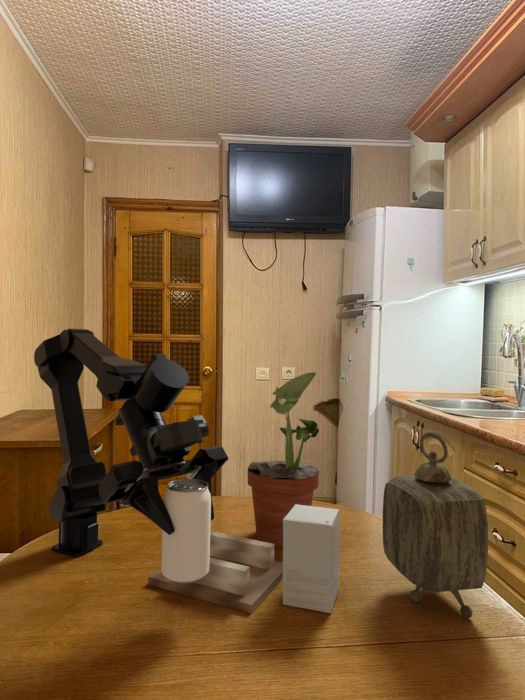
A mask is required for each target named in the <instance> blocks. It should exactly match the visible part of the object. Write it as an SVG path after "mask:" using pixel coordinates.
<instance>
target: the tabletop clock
mask: <svg viewBox="0 0 525 700" xmlns="http://www.w3.org/2000/svg"><path fill="white" fill-rule="evenodd" d="M427 437H429V438H433V439H435V440H437V441H438V442H439V443H440V444H441V446H442V449H443V451H444V452H443V456H442V457H441V458H438V457H437V456H438V454H437V452H436V451H430V452H429V453H428V452H427V450H425V446H424V441H425V439H426V438H427ZM419 445H420V450H421V453H422V454H423V456H424V457H425V458H426V459H427V460H429V462H424V463H421V464H420V465H419V466H418V467H417V468H416V469H415V472H414V474H413V475H398V476H394V477H393V478H391V479H390V480H389V481H387V482H386V483H385V485H384V490H383V498H382V499H383V502H382V546H383V553H384V556H386V558H387V561H389V562H390V564H392V565H393V567H394V569H396V570H397V571H398V572H399V573H400V574H401V575H402V576H403V577H404V578H405V579H407V580H408V581H409V582H410V583H412V584H413V585H414V586H415V589H413V590H411V592H410V594H409V595H410V599H411V601H413V602H415V603H419V602H421V600H422V597H423V596H422V593H421V591H420V590H421V589H423V590H425V591H427V592H429V593H444V592H446V593H447V592H450V593H451V594H452V595H453V596H454V598H455V599H456V601H457V602H458V604H459V605H460V609H459V612H460V615H461V617H463V618H465V619H470V618H472V616H473V610H472V608H471V607H470V606H468V605H465V603H464V600H463V599H462V596H461V594H460V591H464V590H465V591H466V590H474V589H475V590H476V589H482V588H483V587H484V584H485V580H486V576H487V568H488V556H489V530H488V529H489V527H488V525H489V523H488V514H487V508H486V503H485V499H484V498H483V497H482V496H481V494H480V493H478V492H477V490H475V489H474V488H472V487H470V486H469V485H467V484H465V483H464V482H463V481H460V480H459V479H456V478H453V477H452V476H451V474H450V472H449V470H448V469H447V468H446V467H445V466H444V465H443V464H441V463H444V462H445V461H446V460H447V458H448V453H449V452H448V446H447V444H446V442H445V440H444V439H443V438H442V436H440V435H439V434H437V433H435V432H429V431H426V432H425V433H423V435H421V438H420V441H419Z"/></svg>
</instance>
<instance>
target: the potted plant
mask: <svg viewBox="0 0 525 700" xmlns="http://www.w3.org/2000/svg"><path fill="white" fill-rule="evenodd" d="M316 374H317V372H305V373H303V374H300V375H298V376H296V377H294V378H292V379H290V380H288V381H286V382H284V384H283V385H281V386H280V387H278V386H275V387H276V389H275V390H274V392H273V393H272V395H273V396H275V398H274V400H273V401H272V402H271V403H270V406H269V409H270V408H273V410H274V411H275V412H276V413H277V414H278V415H279V414H280V415H285V419H286V427H279V430H280V431H281V433H282V434H283V435H284V436H285V443H284V444H285V450H284V451H285V455H284V457H285V458H284V459H285V460H271V461H267V460H266V461H260V462H257V461H256V462H252V461H251V463H250V464H249V465H248V467H247V485H248V486H250V487H251V495H252V496H251V497H252V505H253V513H254V514H253V515H254V523H255V525H254V526H255V535H256V540H257V541H262V542H267V543H271V544H274V547H283V519H284V518H285V516H286V515H287V514H288V513H289V512H290V511H291V509H292V508H293V507H294V506H295V504H298V505H306V506H312V505H313V504H312V503H313V498H314V491H315V490H317V489H318V488H319V484H320V470H319V469H318V467H315V466H313V465H311V464H307V463H305V462H304V463H303V462H301V456H302V453H303V447H304V443H307V441H308V440H309V439H311V438H316V437H317V436H318V434H319V432H320V429H319V428H318V423H317V422H316V421H314V420H310V419H303V418H298V419H297V420H299V421H300V422H301V423H302V424H303V425H304V426H303V427H301V426H300V425H298V424H297V425H296V428H292V424H291V419H290V411H291V410H293V408H294V407H295V406H296V405H297V403H298V402H299V400H300V398H301V397H302V395H303V393H304V392H305V390H306V389H307V388H308V386H309V385H310V383H312V381H313V379H314V378H315V377H316ZM295 433H296V435H295V438H296V440H297V441H300V440H301V443H300V446H299V452H298V455H297V458H296V460H295V454H294V443H293V441H294V440H293V434H295ZM310 434H311V435H310Z"/></svg>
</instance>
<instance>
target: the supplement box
mask: <svg viewBox="0 0 525 700" xmlns="http://www.w3.org/2000/svg"><path fill="white" fill-rule="evenodd" d="M282 563H283V579H282V605H284V606H289V607H295V608H300V609H306V610H311V611H316V612H320V613H327V614H331V613H332V610H333V607H334V606H335V605H334V604H335V602H336V599H337V596H338V593H339V590H340V584H339V582H340V509H338V508H330V507H329V508H328V507H321V506H306V505H298V504H295V506H294V507H293V508H292V509H291V511H290V512H289V513H288V514H287V515H286V516H285V518H284V519H283V546H282Z"/></svg>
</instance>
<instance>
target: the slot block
mask: <svg viewBox="0 0 525 700" xmlns="http://www.w3.org/2000/svg"><path fill="white" fill-rule="evenodd" d="M281 581H283V562H280V561H276V560H275V546H274V544H271V543H267V542H262V541H259V540H258V539H251V538H247V537H242V536H237V535H232V534H228V533H223V532H218V531H214V530H210V562H209V572H208V573H207V574H206V576H205V577H204V578H202V579H200V580H198V581H195V582H191V583H176V582H172V581H169V580H168V579H166V578H165V576H164V575H163V574H162V567H160V568H159V569H157V570H156V571H155V572H153V573H151V574H150V575H148V576H147V585H148V586H153V587H157V588H160V589H163V590H167V591H169V592H170V591H171V592H174V593H177V594H180V595H184V596H188V597H192V598H195V599H198V600H202V601H206V602H209V603H211V604H216V605H219V606H223V607H226V608H231V609H234V610H237V611H240V612H245V613H248V614H251V615H252V614H253V613H254V612H255V611H256V610H257V609H258V607H259V606H260V605H261V604H262V603H263V602H264V600H266V598H267V597H268V596H269V595H270V594H271V592H272V591H273V590H274V589H275V588H277V586H278V584H279V583H280V582H281Z"/></svg>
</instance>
